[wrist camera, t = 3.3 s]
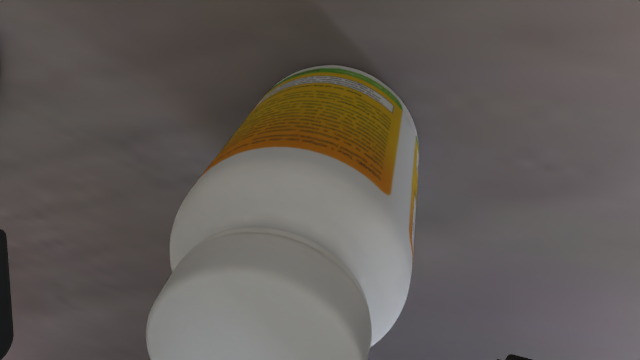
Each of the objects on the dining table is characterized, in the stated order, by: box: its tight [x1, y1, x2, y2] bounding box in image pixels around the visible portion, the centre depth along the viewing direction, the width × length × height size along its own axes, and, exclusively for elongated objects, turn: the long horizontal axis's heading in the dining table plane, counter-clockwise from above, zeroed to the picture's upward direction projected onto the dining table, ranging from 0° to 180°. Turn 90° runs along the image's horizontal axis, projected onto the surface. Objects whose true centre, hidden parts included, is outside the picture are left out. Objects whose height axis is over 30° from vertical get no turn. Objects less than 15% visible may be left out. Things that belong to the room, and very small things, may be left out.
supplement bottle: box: [146, 65, 419, 360], centre depth 14 cm, size 5×5×10 cm
